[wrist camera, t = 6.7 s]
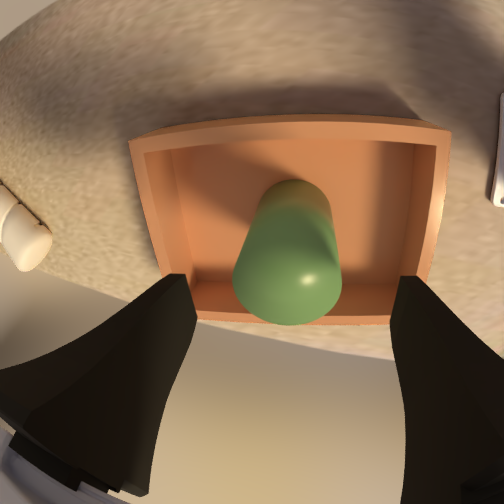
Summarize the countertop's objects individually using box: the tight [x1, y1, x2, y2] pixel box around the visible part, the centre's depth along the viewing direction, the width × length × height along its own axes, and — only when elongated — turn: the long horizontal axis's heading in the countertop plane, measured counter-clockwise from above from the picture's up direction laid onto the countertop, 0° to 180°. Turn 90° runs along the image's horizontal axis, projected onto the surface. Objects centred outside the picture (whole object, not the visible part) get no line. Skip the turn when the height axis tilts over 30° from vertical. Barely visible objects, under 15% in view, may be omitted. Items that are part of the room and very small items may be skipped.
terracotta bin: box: [128, 114, 451, 325], centre depth 17 cm, size 16×12×4 cm
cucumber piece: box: [232, 179, 342, 325], centre depth 15 cm, size 4×4×7 cm
